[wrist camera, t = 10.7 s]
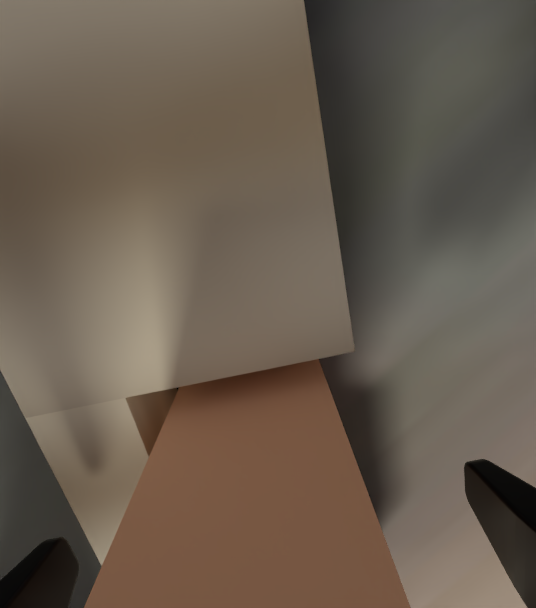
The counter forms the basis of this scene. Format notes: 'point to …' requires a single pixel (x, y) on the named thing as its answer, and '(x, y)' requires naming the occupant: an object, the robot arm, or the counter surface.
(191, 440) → the tab block
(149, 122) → the notched board
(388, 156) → the counter surface
